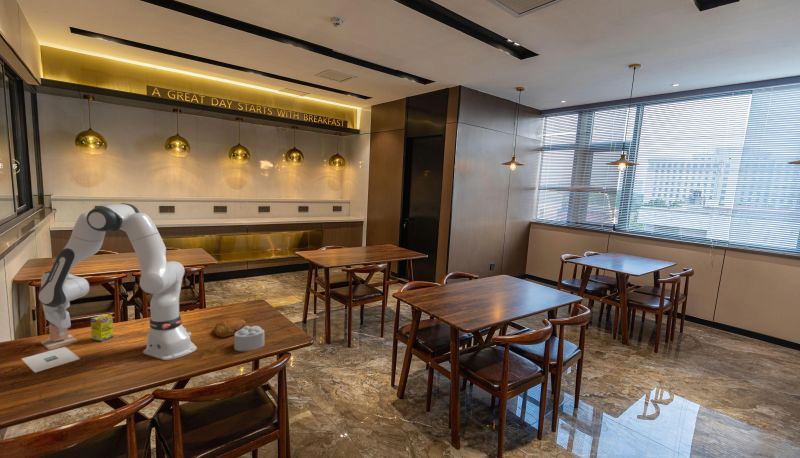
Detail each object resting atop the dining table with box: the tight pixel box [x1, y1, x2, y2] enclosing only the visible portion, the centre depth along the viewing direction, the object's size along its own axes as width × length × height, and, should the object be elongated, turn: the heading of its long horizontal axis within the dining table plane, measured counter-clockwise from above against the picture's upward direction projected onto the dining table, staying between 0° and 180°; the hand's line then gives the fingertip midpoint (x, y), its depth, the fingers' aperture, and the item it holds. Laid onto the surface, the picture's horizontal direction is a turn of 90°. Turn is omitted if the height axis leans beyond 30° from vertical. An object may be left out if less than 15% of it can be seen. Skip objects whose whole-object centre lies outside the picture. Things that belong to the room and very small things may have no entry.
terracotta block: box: [48, 322, 69, 341], centre depth 166 cm, size 5×5×7 cm
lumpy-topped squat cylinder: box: [233, 325, 266, 352], centre depth 173 cm, size 10×13×9 cm
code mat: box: [21, 346, 81, 373], centre depth 153 cm, size 18×14×1 cm
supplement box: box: [90, 313, 114, 343], centre depth 172 cm, size 6×6×11 cm
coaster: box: [40, 333, 78, 350], centre depth 167 cm, size 10×10×1 cm
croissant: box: [213, 317, 247, 338], centre depth 188 cm, size 14×16×8 cm
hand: (58, 333), depth 166 cm, fingers closed on terracotta block, 5 cm apart
